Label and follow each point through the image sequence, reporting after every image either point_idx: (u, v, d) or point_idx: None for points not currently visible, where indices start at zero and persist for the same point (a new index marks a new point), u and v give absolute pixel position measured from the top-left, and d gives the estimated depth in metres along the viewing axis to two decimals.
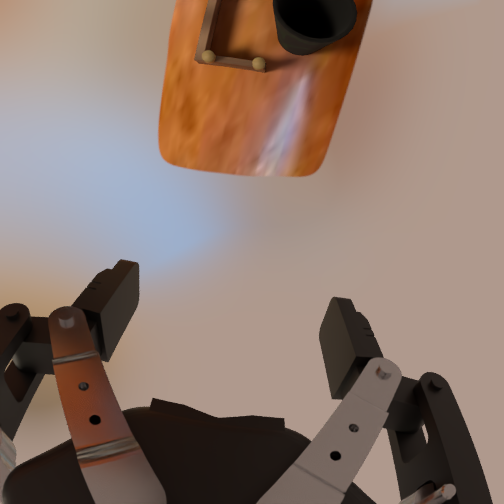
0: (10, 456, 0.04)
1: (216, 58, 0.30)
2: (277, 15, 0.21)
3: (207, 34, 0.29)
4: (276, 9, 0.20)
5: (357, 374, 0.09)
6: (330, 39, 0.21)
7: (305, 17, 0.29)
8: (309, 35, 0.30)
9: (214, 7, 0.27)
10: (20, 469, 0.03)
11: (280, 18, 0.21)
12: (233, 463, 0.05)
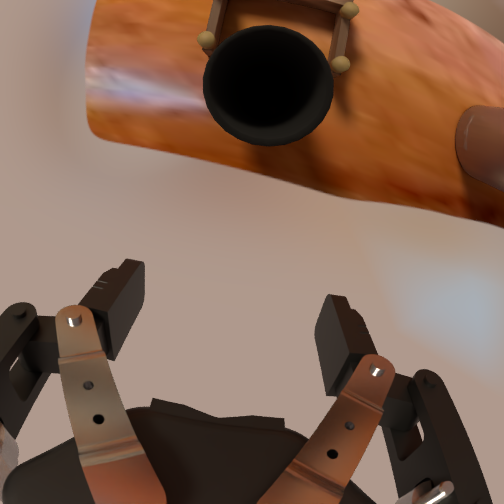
0: (12, 454, 0.04)
1: None
2: (244, 30, 0.14)
3: None
4: (256, 29, 0.14)
5: (350, 370, 0.09)
6: (209, 104, 0.16)
7: (291, 101, 0.26)
8: (265, 106, 0.26)
9: None
10: (20, 469, 0.03)
11: (239, 34, 0.14)
12: (233, 462, 0.05)
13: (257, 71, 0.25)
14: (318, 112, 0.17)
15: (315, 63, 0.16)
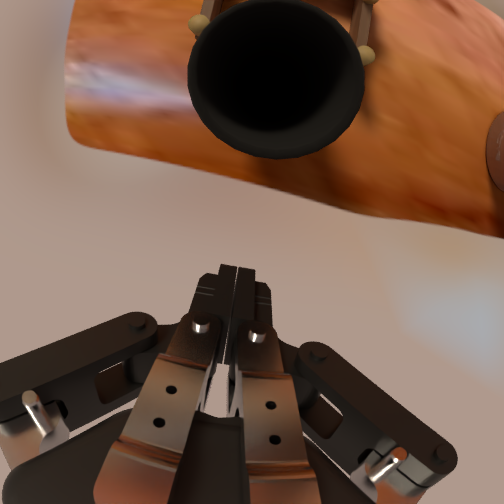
0: (55, 443, 0.05)
1: None
2: (244, 3, 0.10)
3: None
4: (259, 1, 0.10)
5: (235, 336, 0.09)
6: (196, 102, 0.12)
7: (302, 100, 0.21)
8: (271, 106, 0.22)
9: None
10: (20, 469, 0.03)
11: (237, 8, 0.10)
12: (233, 462, 0.05)
13: (262, 63, 0.20)
14: (344, 114, 0.12)
15: (339, 49, 0.11)
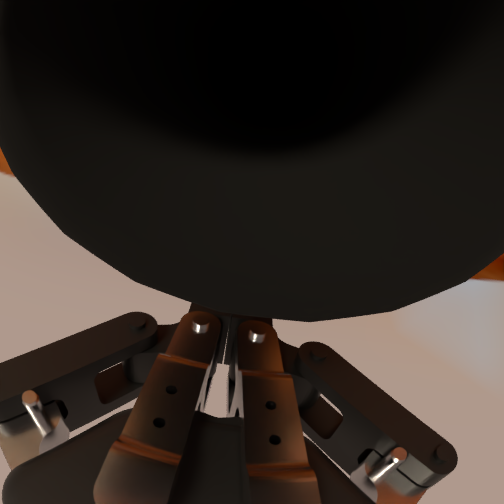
0: (55, 443, 0.05)
1: None
2: None
3: None
4: None
5: (235, 336, 0.09)
6: None
7: (330, 90, 0.11)
8: (273, 99, 0.12)
9: None
10: (20, 469, 0.03)
11: None
12: (233, 462, 0.05)
13: (257, 25, 0.10)
14: None
15: None
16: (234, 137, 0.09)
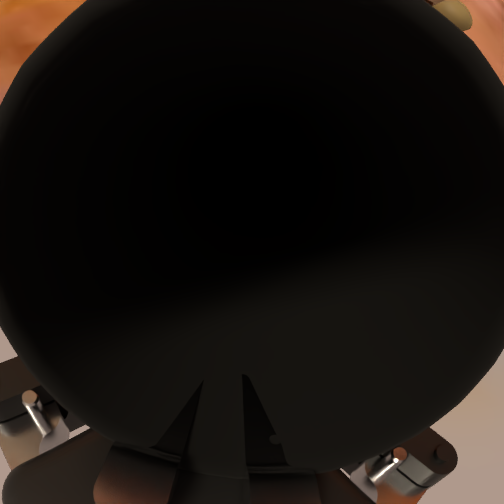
0: (55, 443, 0.05)
1: None
2: None
3: None
4: None
5: None
6: (30, 368, 0.04)
7: (313, 185, 0.13)
8: (258, 188, 0.14)
9: None
10: (20, 469, 0.03)
11: (91, 16, 0.02)
12: None
13: (248, 111, 0.12)
14: (422, 405, 0.04)
15: (473, 202, 0.03)
16: (214, 259, 0.10)
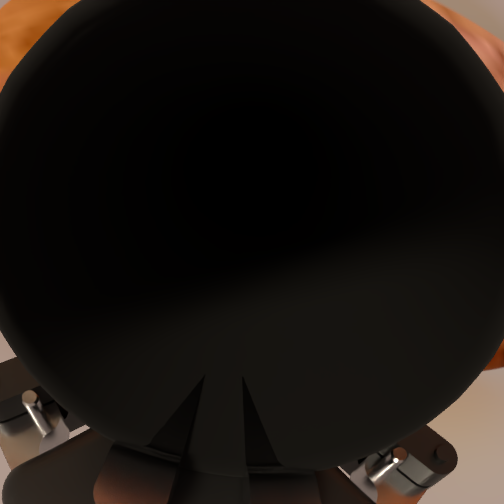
0: (55, 443, 0.05)
1: None
2: None
3: None
4: None
5: None
6: (28, 369, 0.04)
7: (311, 182, 0.13)
8: (256, 187, 0.14)
9: None
10: (20, 469, 0.03)
11: (72, 24, 0.02)
12: None
13: (244, 110, 0.12)
14: (420, 400, 0.04)
15: (465, 191, 0.03)
16: (212, 258, 0.10)
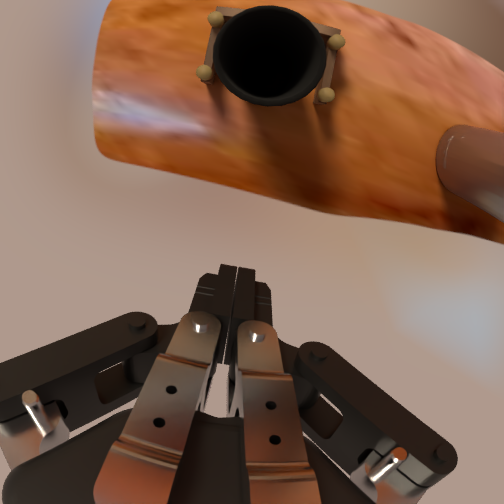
0: (55, 443, 0.05)
1: (215, 28, 0.23)
2: (251, 8, 0.16)
3: None
4: (261, 8, 0.16)
5: (235, 336, 0.09)
6: (217, 68, 0.18)
7: (289, 80, 0.27)
8: (265, 84, 0.28)
9: None
10: (20, 469, 0.03)
11: (247, 12, 0.16)
12: (233, 462, 0.05)
13: (259, 52, 0.26)
14: (312, 79, 0.18)
15: (311, 39, 0.17)
16: (250, 93, 0.24)
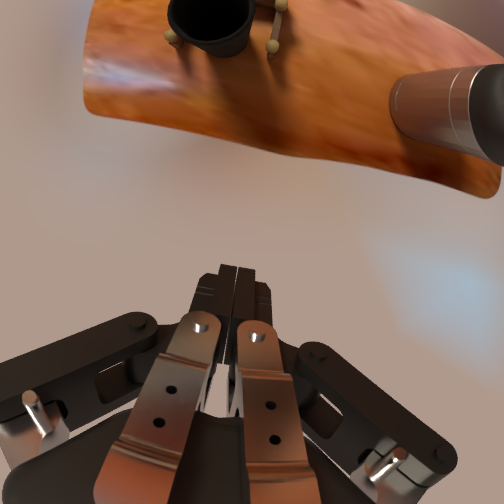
0: (55, 443, 0.05)
1: None
2: None
3: None
4: None
5: (235, 336, 0.09)
6: (170, 21, 0.20)
7: None
8: None
9: None
10: (20, 469, 0.03)
11: None
12: (233, 462, 0.05)
13: (219, 19, 0.28)
14: (244, 23, 0.20)
15: None
16: None
